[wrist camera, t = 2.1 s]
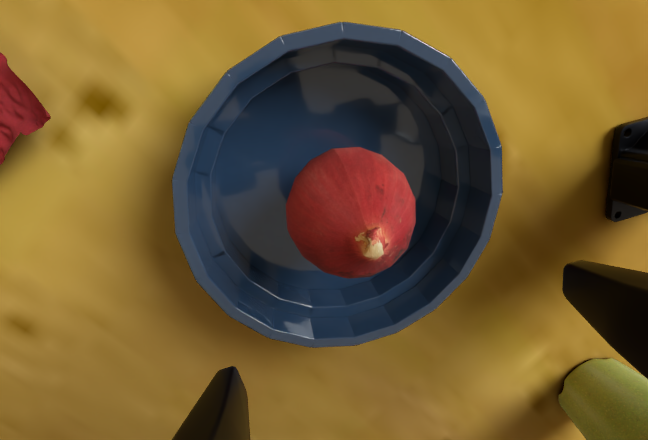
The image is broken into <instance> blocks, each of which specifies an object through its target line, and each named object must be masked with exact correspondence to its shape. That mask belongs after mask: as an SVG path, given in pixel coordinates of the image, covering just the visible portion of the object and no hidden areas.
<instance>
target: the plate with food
mask: <svg viewBox="0 0 648 440" xmlns="http://www.w3.org/2000/svg"><path fill="white" fill-rule="evenodd" d="M50 118H51V116H50V115H49V113H48V112H47V111H46V110H45V108H44V107H43V106H42V104H41V103H40V102H39V100H38V99H37V98H36V96H35V95H34V94H33V93H32V91H31V90H30V89H29V88H28V87H27V86H26V85H25V84H24V83H23V81H22V80H20V79H19V78H18V77H17V76H16V75H15V73H14V72H13V71H12V70H11V69H10V68H9V66H8V65H7V59H6V57H5V56H4V55H3V54H2V53H0V165H1V164H2V163H3V161H4V160H5V155H6V154H7V152H8V150H9V148H10V147H11V145H12V144H13V143H14V141H15V139H16V137H17V136H18V135H19V134H20V133H22V134H24V135H29V134H30V133H32V132H34V131H36V130H38V129H40V128H41V127H43V126H44V124H45V123H46V122H47V121H48V120H49V119H50Z"/></svg>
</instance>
